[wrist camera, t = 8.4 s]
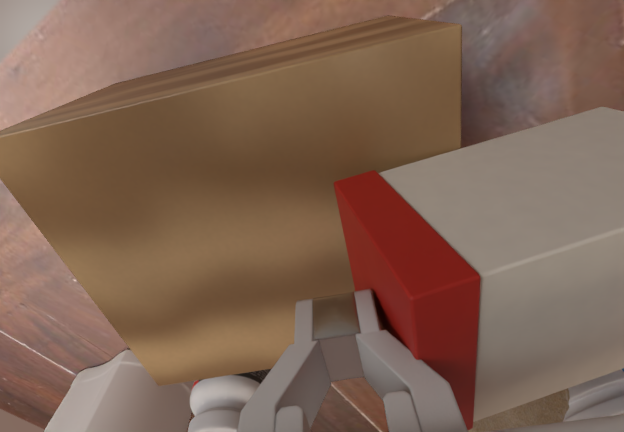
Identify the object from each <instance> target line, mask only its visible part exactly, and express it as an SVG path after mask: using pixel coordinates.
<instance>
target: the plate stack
mask: <svg viewBox="0 0 624 432" xmlns="http://www.w3.org/2000/svg"><path fill="white" fill-rule="evenodd" d="M568 390H569V396H570V399H569V407H570V408H569V409H568V411H567V412H566V414H565V417H564V420H563V422H566V421H574V420H582V419H590V418H598V417H606V416H614V415H622V414H624V372H623V370H622V369H620V370H618V371H615V372H612V373H609V374H606V375H604V376H601V377H598V378H595V379H592V380H590V381H587V382H584V383H581V384H578V385H576V386H573V387H570V388H568Z"/></svg>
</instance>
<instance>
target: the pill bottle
mask: <svg viewBox="0 0 624 432" xmlns="http://www.w3.org/2000/svg"><path fill="white" fill-rule="evenodd" d="M270 370H271V369H266V370H260V371H253V372H247V373H241V374H234V375H228V376H221V377H215V378H208V379H202V380H196V381H194V383H193V387H192V390H191V395H190V407H191V410H192V412H193V414H194V415H195V417H194V418H193V419H192V420H191V422H190V424H189V428H188V432H237V430H238V424H239V419H240V413H241V410H242V409H243V407H244V406H245V405H246V403H247V402H248V401H249V399H250V398H251V396H252V395H253V394H254V392H255V391H256V390H257V388H258V387H259V386H260V384H261V383H262V381H263V380H264V379H265V377H266V376H267V375H268V373H269V372H270Z"/></svg>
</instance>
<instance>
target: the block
mask: <svg viewBox="0 0 624 432" xmlns="http://www.w3.org/2000/svg"><path fill="white" fill-rule="evenodd" d="M461 78H462V26H461V24H453V23H445V22H437V21H429V20H421V19H413V18H404V17H396V16H385V17H381V18H377V19H373V20H369V21H365V22H361V23H357V24H353V25H349V26H345V27H341V28H337V29H333V30H329V31H325V32H320V33H316V34H312V35H308V36H304V37H300V38H296V39H292V40H288V41H284V42H280V43H276V44H272V45H268V46H264V47H260V48H256V49H252V50H248V51H244V52H240V53H236V54H232V55H228V56H224V57H220V58H216V59H212V60H208V61H204V62H200V63H196V64H192V65H188V66H184V67H180V68H176V69H172V70H168V71H164V72H160V73H156V74H152V75H148V76H144V77H140V78H136V79H132V80H128V81H124V82H120V83H116V84H113V85H110V86H108V87H105V88H103V89H101V90H98V91H96V92H93V93H91V94H88V95H86V96H84V97H81V98H79V99H76V100H74V101H72V102H69V103H67V104H64V105H62V106H59V107H57V108H55V109H52V110H50V111H47V112H45V113H42V114H40V115H38V116H35V117H33V118H30V119H28V120H26V121H23V122H21V123H18V124H16V125H13V126H11V127H9V128H6V129H4V130H1V131H0V179H1V180H2V182H3V183H4V184H5V185H6V187H7V188H8V189H9V191H10V192H11V193H12V195H13V196H14V197H15V199H16V200H17V201H18V203H19V204H20V205H21V206H22V208H23V209H24V210H25V212H26V213H27V214H28V216H29V217H30V218H31V220H32V221H33V222H34V224H35V225H36V226H37V227H38V229H39V230H40V231H41V233H42V234H43V235H44V237H45V238H46V239H47V241H48V242H49V243H50V245H51V246H52V247H53V248H54V250H55V251H56V252H57V254H58V255H59V256H60V258H61V259H62V260H63V262H64V263H65V264H66V266H67V267H68V268H69V269H70V271H71V272H72V273H73V275H74V276H75V277H76V279H77V280H78V281H79V283H80V284H81V285H82V287H83V288H84V289H85V290H86V292H87V293H88V294H89V296H90V297H91V298H92V300H93V301H94V302H95V304H96V305H97V306H98V308H99V309H100V310H101V311H102V313H103V314H104V315H105V317H106V318H107V319H108V321H109V322H110V323H111V325H112V326H113V327H114V329H115V330H116V331H117V332H118V334H119V335H120V336H121V338H122V339H123V340H124V342H125V343H126V344H127V346H128V347H129V348H130V350H131V351H132V352H133V353H134V355H135V356H136V357H137V359H138V360H139V361H140V363H141V364H142V365H143V367H144V368H145V369H146V371H147V372H148V373H149V374H150V376H151V377H152V378H153V380H154V381H155V382H156V384H157V385H158V386H163V385H170V384H176V383H183V382H189V381H196V380H202V379H208V378H215V377H221V376H228V375H234V374H241V373H247V372H253V371H260V370H266V369H272V368H273V366H274V365H275V364H276V362H277V361H278V360H279V358H280V357H281V355H282V354H283V353H284V351H285V350H286V349H287V347H288V346H289V345H290V344H294V334H295V308H296V302H297V301H299V300H306V299H313V298H318V297H325V296H332V295H338V294H344V293H349V292H354V291H355V286H354V281H353V277H352V272H351V267H350V262H349V257H348V252H347V247H346V242H345V238H344V233H343V228H342V223H341V218H340V213H339V208H338V203H337V199H336V194H335V189H334V182H335V181H338V180H342V179H345V178H348V177H352V176H355V175H359V174H362V173H365V172H369V171H372V170H375V171H376V172H377V173H380V172H383V171H386V170H390V169H393V168H397V167H400V166H403V165H407V164H410V163H414V162H417V161H420V160H424V159H427V158H430V157H434V156H437V155H441V154H444V153H447V152H451V151H454V150H457V149H461ZM354 296H355V295H354ZM355 301H356V300H355Z"/></svg>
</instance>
